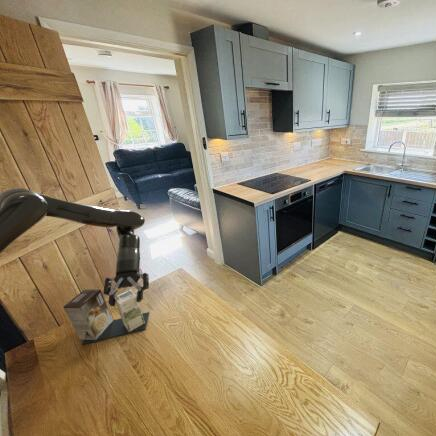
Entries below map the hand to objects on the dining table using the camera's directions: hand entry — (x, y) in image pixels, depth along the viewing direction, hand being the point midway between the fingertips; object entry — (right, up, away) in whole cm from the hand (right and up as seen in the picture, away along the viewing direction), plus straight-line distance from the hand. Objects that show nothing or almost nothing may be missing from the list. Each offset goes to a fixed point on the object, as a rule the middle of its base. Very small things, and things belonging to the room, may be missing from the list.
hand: (125, 304), depth 87 cm
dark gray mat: (-7, -11, +5) cm, 14 cm away
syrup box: (-1, -10, +6) cm, 12 cm away
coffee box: (-13, -11, +3) cm, 18 cm away
